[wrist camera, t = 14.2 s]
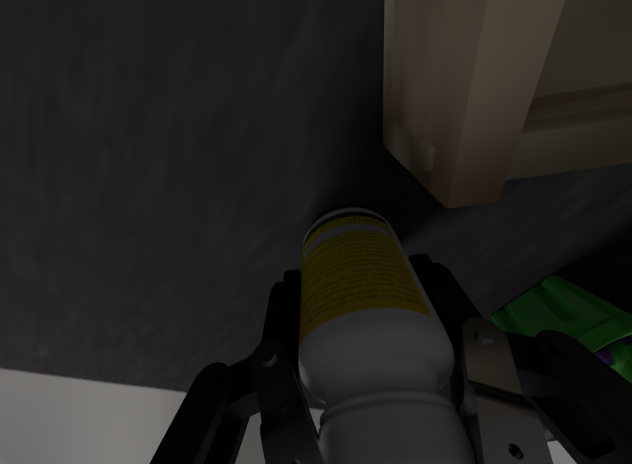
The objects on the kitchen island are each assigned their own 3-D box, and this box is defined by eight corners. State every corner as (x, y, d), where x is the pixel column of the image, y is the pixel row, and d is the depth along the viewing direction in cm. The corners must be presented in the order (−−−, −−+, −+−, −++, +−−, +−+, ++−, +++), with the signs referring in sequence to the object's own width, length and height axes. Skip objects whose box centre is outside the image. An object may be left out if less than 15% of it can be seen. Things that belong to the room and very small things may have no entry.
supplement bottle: (283, 240, 14) (244, 488, 5) (361, 184, 12) (478, 436, 4) (337, 288, 16) (366, 508, 8) (409, 249, 14) (542, 484, 6)
